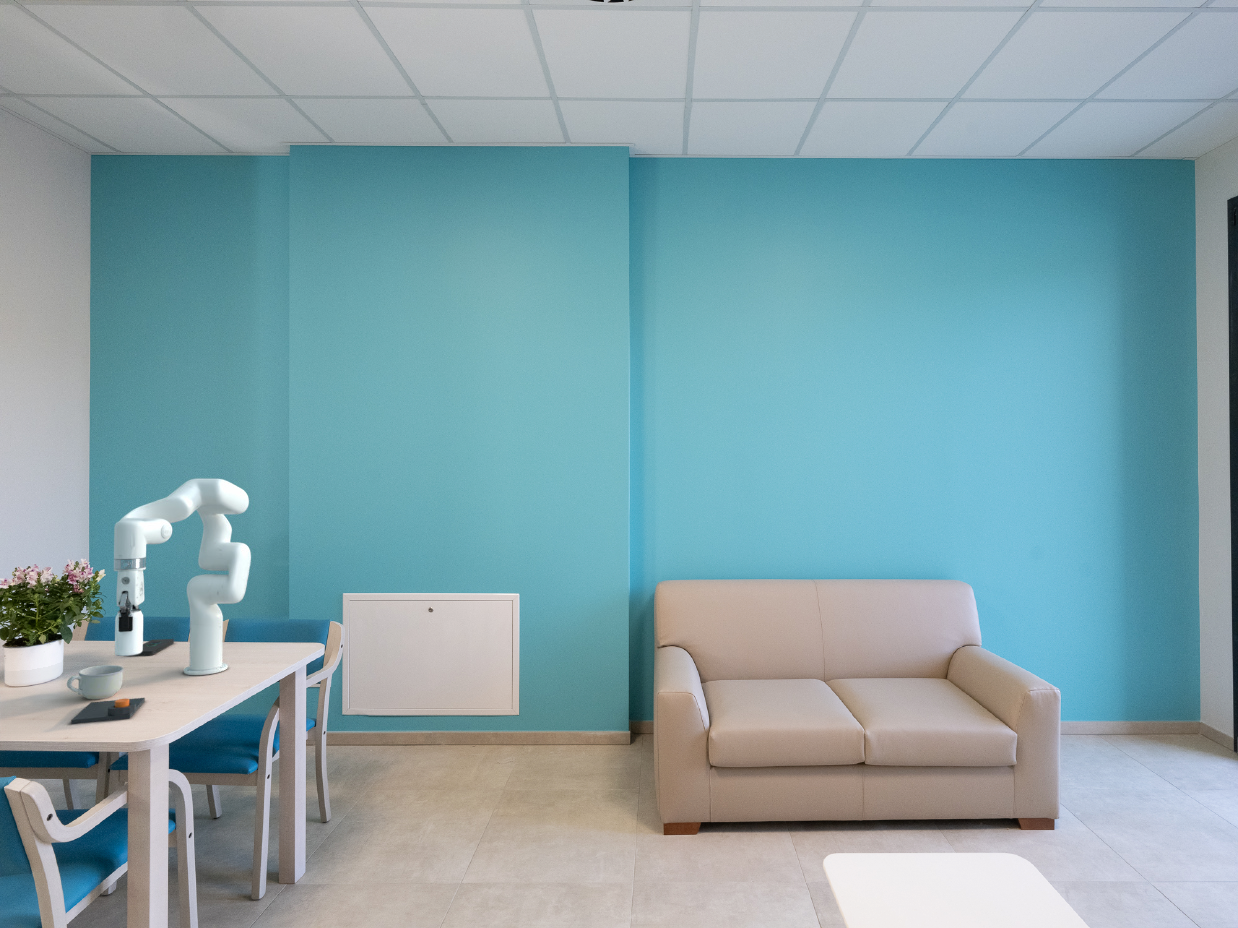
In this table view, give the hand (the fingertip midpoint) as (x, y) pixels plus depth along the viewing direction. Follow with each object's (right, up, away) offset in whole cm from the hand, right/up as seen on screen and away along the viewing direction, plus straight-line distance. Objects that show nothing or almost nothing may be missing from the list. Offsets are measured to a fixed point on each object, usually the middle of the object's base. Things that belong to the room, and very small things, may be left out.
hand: (129, 628), depth 207 cm
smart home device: (-36, -23, +67) cm, 79 cm away
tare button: (+4, -19, -9) cm, 21 cm away
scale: (-2, -22, -6) cm, 22 cm away
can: (0, -7, 0) cm, 7 cm away
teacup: (-15, -22, +8) cm, 28 cm away
